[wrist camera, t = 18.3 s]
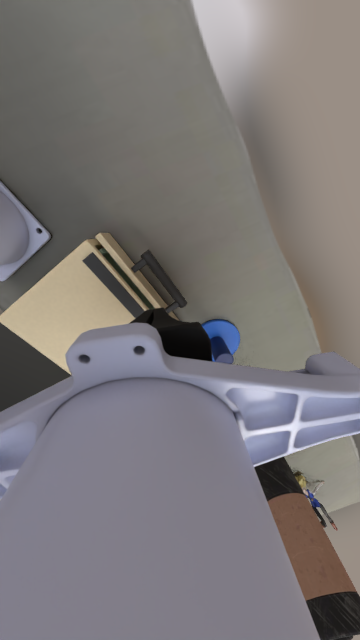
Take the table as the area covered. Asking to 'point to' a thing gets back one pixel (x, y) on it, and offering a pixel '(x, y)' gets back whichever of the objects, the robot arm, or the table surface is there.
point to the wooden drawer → (140, 275)
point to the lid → (222, 340)
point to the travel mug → (311, 554)
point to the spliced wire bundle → (314, 500)
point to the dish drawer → (72, 303)
